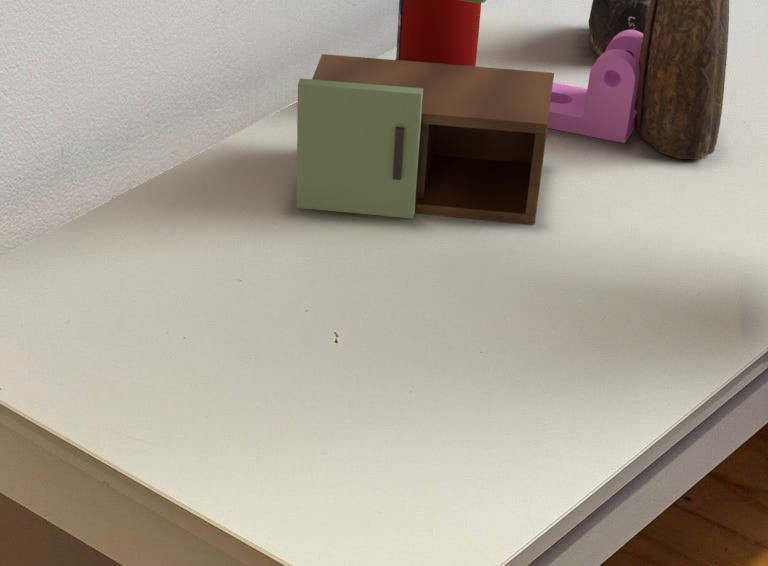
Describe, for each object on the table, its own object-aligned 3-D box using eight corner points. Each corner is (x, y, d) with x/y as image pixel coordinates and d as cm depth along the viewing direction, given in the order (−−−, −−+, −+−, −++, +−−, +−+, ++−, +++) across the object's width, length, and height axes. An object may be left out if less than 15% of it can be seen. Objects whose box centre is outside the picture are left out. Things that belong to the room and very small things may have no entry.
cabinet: (541, 170, 125) (554, 72, 120) (534, 224, 119) (547, 124, 113) (319, 150, 128) (321, 53, 122) (300, 203, 121) (302, 103, 116)
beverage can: (434, 74, 138) (444, -67, 130) (489, 100, 134) (503, -44, 126) (377, 95, 135) (384, -48, 127) (431, 122, 131) (442, -24, 123)
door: (414, 212, 119) (423, 88, 113) (412, 220, 119) (421, 95, 112) (298, 201, 121) (299, 77, 114) (295, 209, 120) (296, 85, 113)
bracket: (642, 115, 132) (656, 34, 128) (624, 143, 129) (638, 60, 124) (496, 87, 136) (504, 7, 132) (475, 113, 133) (482, 31, 128)
